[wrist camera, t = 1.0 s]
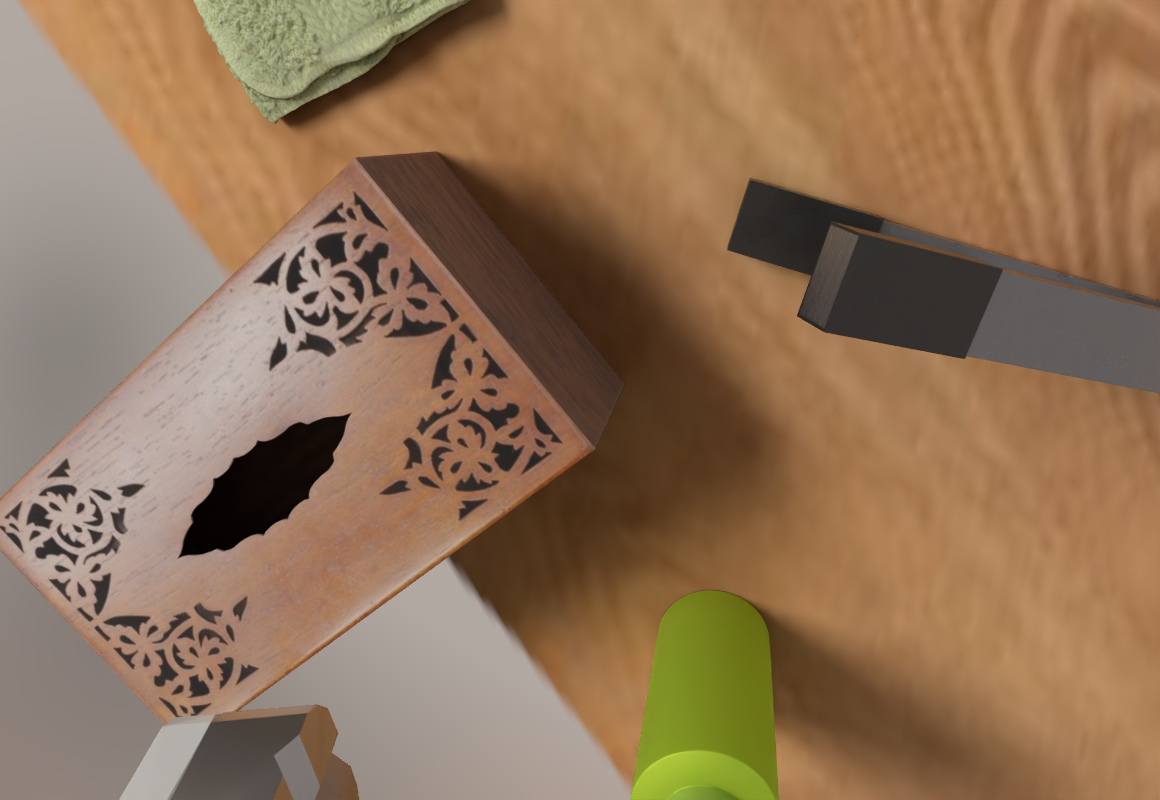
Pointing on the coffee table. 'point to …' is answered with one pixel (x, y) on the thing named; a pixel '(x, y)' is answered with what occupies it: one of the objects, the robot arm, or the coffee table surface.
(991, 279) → the tongs upper arm
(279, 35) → the washcloth
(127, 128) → the coffee table surface
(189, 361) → the tissue box cover
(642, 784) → the soap dispenser
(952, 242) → the tongs lower arm
